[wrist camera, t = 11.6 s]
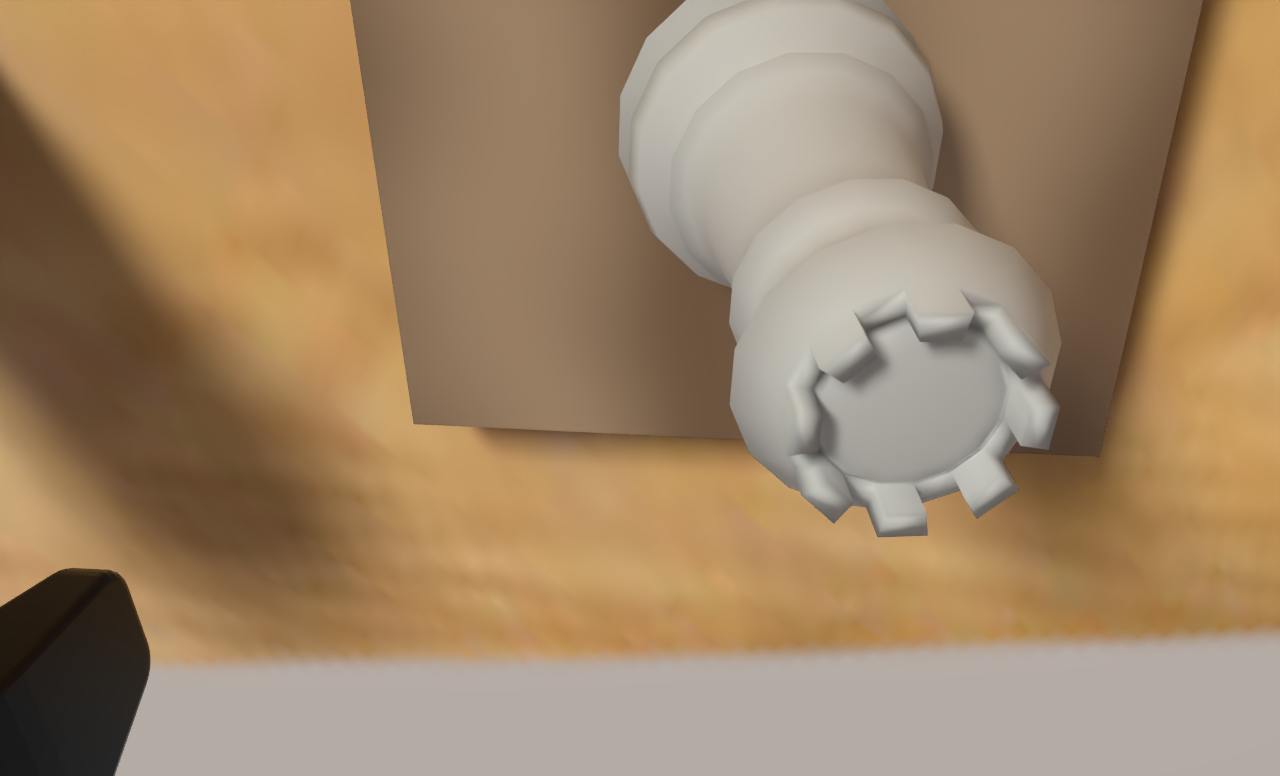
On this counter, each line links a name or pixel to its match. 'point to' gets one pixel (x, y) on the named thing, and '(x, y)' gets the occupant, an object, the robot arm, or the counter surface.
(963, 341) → the rook chess piece
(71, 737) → the robot arm
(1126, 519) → the counter surface
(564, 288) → the walnut block
